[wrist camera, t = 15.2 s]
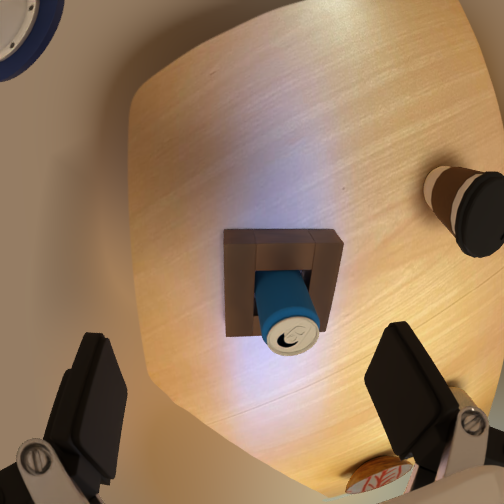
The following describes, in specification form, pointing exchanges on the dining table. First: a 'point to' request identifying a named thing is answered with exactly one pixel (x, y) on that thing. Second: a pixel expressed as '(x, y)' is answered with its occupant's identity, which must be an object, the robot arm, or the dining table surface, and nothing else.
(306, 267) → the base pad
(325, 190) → the dining table surface
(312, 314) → the beverage can
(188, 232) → the dining table surface
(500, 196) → the coffee cup
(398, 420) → the robot arm
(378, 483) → the bowl
